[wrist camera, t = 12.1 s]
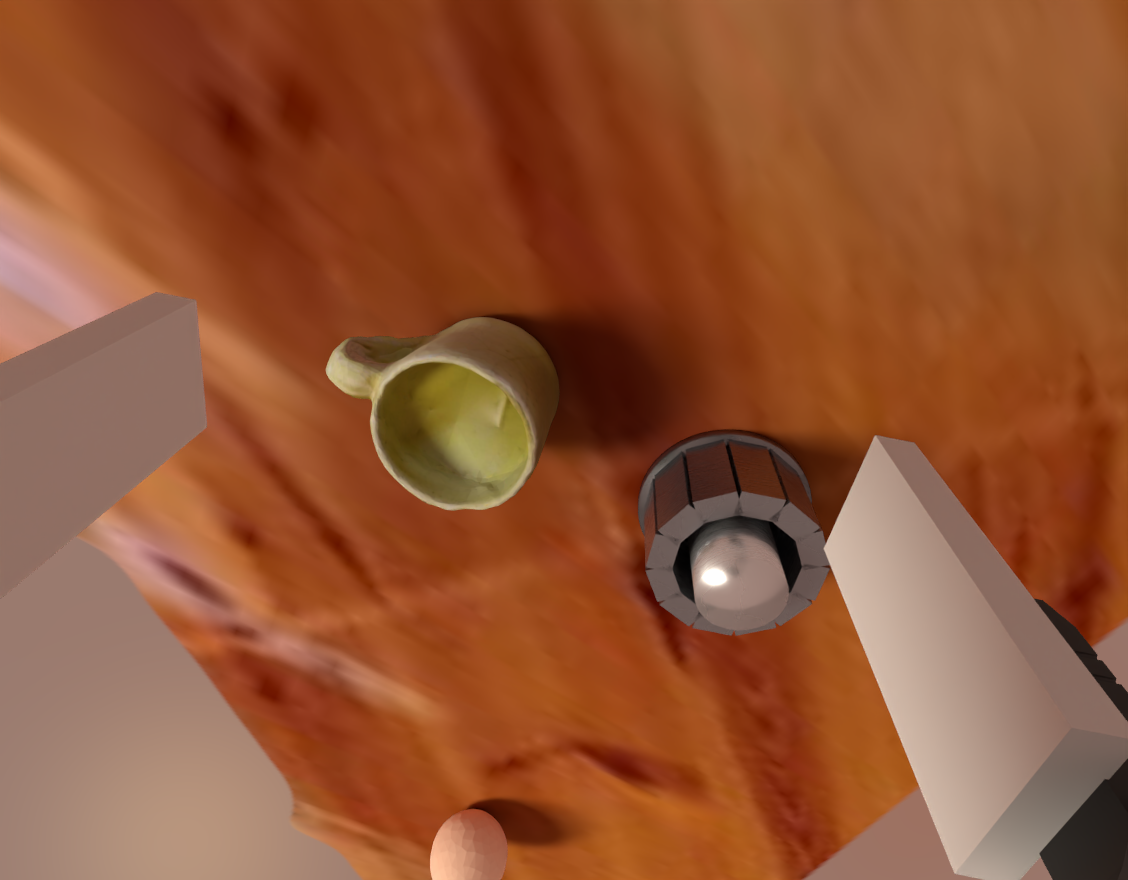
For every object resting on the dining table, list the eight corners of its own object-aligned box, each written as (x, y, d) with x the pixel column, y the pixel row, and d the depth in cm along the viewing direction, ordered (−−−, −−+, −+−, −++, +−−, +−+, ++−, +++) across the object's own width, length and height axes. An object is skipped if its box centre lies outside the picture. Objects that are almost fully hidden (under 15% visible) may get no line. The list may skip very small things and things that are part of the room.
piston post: (660, 414, 42) (666, 492, 35) (834, 448, 42) (880, 534, 35) (622, 553, 48) (620, 648, 40) (777, 583, 48) (805, 685, 40)
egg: (479, 845, 65) (461, 937, 58) (427, 810, 64) (402, 900, 57) (528, 819, 63) (515, 912, 56) (474, 782, 61) (454, 873, 54)
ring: (667, 426, 42) (672, 477, 37) (827, 458, 42) (855, 513, 37) (631, 554, 47) (631, 615, 41) (774, 582, 47) (793, 647, 41)
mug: (624, 374, 39) (546, 472, 32) (532, 460, 46) (451, 557, 39) (467, 223, 38) (350, 288, 31) (397, 333, 45) (289, 408, 38)
